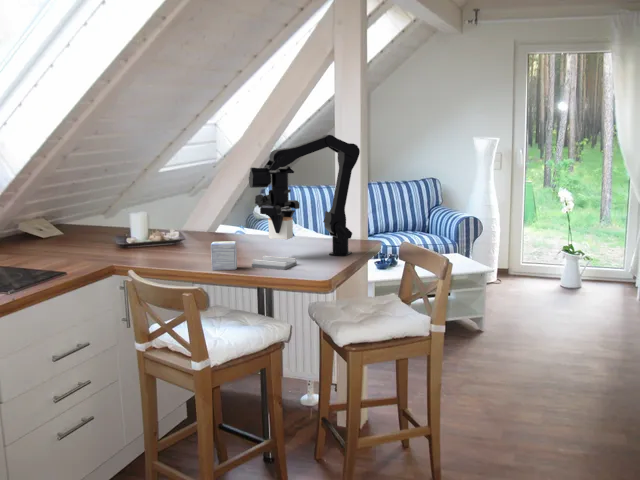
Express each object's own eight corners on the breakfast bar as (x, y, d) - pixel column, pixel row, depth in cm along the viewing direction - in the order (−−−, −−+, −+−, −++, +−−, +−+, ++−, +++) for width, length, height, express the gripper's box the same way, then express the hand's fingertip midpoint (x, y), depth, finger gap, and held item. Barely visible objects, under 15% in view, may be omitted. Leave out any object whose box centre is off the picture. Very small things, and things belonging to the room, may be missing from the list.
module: (274, 236, 238) (274, 216, 237) (292, 237, 235) (292, 217, 234) (268, 238, 234) (268, 218, 233) (287, 239, 231) (286, 219, 230)
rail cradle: (264, 261, 231) (264, 255, 231) (296, 264, 226) (296, 257, 226) (251, 266, 223) (251, 260, 223) (284, 269, 218) (284, 263, 218)
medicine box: (237, 267, 223) (236, 241, 222) (236, 270, 219) (235, 243, 217) (213, 267, 223) (212, 241, 221) (211, 270, 219) (210, 243, 217)
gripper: (271, 183, 243) (272, 226, 246) (245, 188, 226) (246, 234, 229) (299, 184, 239) (300, 228, 241) (275, 189, 222) (276, 236, 225)
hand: (280, 232), depth 234 cm, fingers closed on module, 4 cm apart
